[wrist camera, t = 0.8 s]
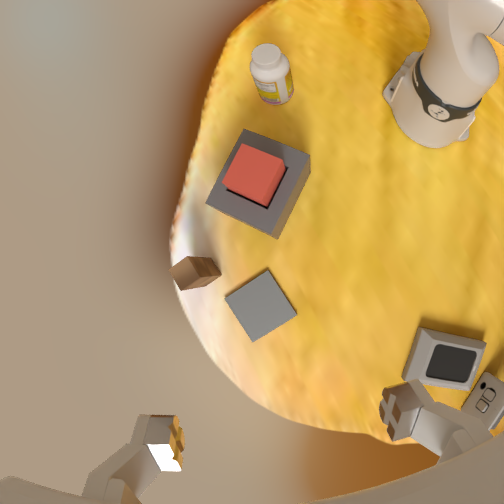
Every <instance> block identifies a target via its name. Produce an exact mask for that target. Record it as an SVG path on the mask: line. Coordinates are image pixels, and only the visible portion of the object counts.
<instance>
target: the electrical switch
mask: <svg viewBox="0 0 504 504" xmlns="http://www.w3.org/2000/svg"><path fill="white" fill-rule="evenodd" d="M461 411H462V412H464V413H466V414H469V415H471V416H474V417H476V418H479V419H481V421H482V422H483V423H484V425H485V426H486V427H487V429H488V430H489V431H490V429H495V427H496V426H497V424H498V423H499V422H500V420H501V418H502V417H503V415H504V382H502V381H501V380H499V379H498V378H496V377H494V376H493V375H492V374H490V373H489V372H484V373H483V374H482V376H481V378H480V379H479V381H478V383H477V384H476V386H475V388H474V389H473V391H472V393H471V394H470V396H469V397H468V399H467V400H466V402H465V403H464V405H463V407H462V408H461Z"/></svg>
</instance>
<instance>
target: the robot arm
mask: <svg viewBox="0 0 504 504" xmlns="http://www.w3.org/2000/svg"><path fill="white" fill-rule="evenodd" d="M416 1H417V2H418V4H419V5H420V6H421V8H422V10H423V11H424V13H425V15H426V17H427V20H428V23H429V27H430V35H429V39H428V43H427V46H426V49H423V50H422V52H412V53H411V54H410V55H409V56H407V58H406V59H405V61H404V64H403V65H402V66H401V68H400V69H399V70H398V72H397V73H396V74H395V76H394V77H393V78H392V80H391V81H390V83H389V84H388V85H387V87H386V88H385V89H384V91H383V97H384V98H385V100H386V101H387V102H388V103H389V105H390V106H391V108H392V111H393V114H394V117H395V120H396V122H397V124H398V125H399V127H400V128H401V129H402V131H403V132H404V133H405V134H406V135H407V136H408V137H410V138H411V139H412V140H414V141H415V142H417V143H419V144H421V145H423V146H426V147H431V148H441V147H445V146H447V145H449V144H451V143H452V142H455V141H465V140H466V139H467V138H468V137H469V126H470V125H471V124H472V122H473V121H474V120H475V116H474V113H475V112H474V111H475V110H476V108H477V107H478V105H479V103H480V102H481V99H482V97H483V95H484V94H485V93H486V92H487V91H488V90H489V89H490V88H491V87H492V85H493V84H494V83H495V82H496V80H497V78H498V75H499V62H498V58H497V56H496V53H495V51H494V48H493V46H492V45H491V43H490V41H489V40H488V39H487V37H486V36H489V37H491V38H492V39H494V40H496V41H497V42H499V43H500V44H502V45H503V46H504V0H416ZM485 35H486V36H485ZM390 89H392V90H393V91H391V90H390ZM382 396H383V398H384V399H383V400H382V401H381V402H380V406H379V412H380V417H381V420H382V422H383V423H384V424H386V425H388V427H387V432H388V434H389V436H390V438H391V440H392V442H393V441H396V440H400V439H403V438H406V437H410V436H411V438H413V439H414V440H416V441H417V442H419V443H420V444H422V445H423V446H425V447H426V448H428V449H429V450H431V451H432V452H434V453H436V454H437V455H439V456H440V459H439V461H438V463H437V464H436V465H435V466H433V467H431V468H428V469H425V470H423V471H420V472H417V473H415V474H412V475H409V476H406V477H403V478H401V479H398V480H395V481H392V482H389V483H386V484H382V485H379V486H376V487H372V488H369V489H365V490H361V491H357V492H353V493H350V494H345V495H341V496H336V497H331V498H327V499H322V500H317V501H311V502H305V503H299V504H504V431H503V432H502V433H500V434H498V435H496V436H495V437H493V436H492V434H491V433H490V432H489V430H488V429H487V427H486V426H485V425H484V423H483V422H482V421H481V419H479V418H476V417H474V416H471V415H469V414H466V413H464V412H462V411H459V410H457V409H454V408H452V407H450V406H447V405H445V404H443V403H440V402H434V400H433V399H432V397H431V396H430V394H429V393H428V392H427V390H426V389H425V387H424V386H423V385H422V383H421V382H420V381H419V379H414V380H410V381H407V382H403V383H400V384H396V385H392V386H389V387H385V388H384V389H383V392H382ZM184 447H185V438H184V433H183V430H182V428H181V427H179V420H178V417H177V416H176V415H142V414H140V415H139V416H138V418H137V421H136V425H135V428H134V431H133V435H132V438H131V442H130V444H126V445H125V446H123V447H122V448H121V449H119V450H118V451H117V452H116V453H114V454H113V455H112V456H111V457H110V458H108V459H107V460H106V461H105V462H103V463H102V464H101V465H99V466H98V467H97V468H96V469H94V470H93V471H92V472H91V473H89V475H88V478H87V481H86V484H85V487H84V490H83V493H82V496H78V495H73V494H69V493H65V492H62V491H58V490H54V489H51V488H47V487H44V486H41V485H37V484H35V483H32V482H29V481H26V480H23V479H20V478H18V477H14V476H8V477H6V478H3V479H1V480H0V504H142V503H141V502H140V501H139V500H138V498H139V497H140V496H141V494H142V493H143V492H144V491H145V490H146V489H147V487H148V486H149V485H150V484H151V483H152V482H153V481H154V480H155V478H156V477H157V476H158V475H159V474H160V473H161V471H181V470H182V463H183V457H182V455H181V452H182V451H183V450H184Z"/></svg>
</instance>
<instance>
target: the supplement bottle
mask: <svg viewBox="0 0 504 504" xmlns="http://www.w3.org/2000/svg"><path fill="white" fill-rule="evenodd" d="M250 71H251V74H252V76H253V79H254V82H255V84H256V87H257V90H258V92H259V95H260V97H261V98H262V100H264V101H265V102H266V103H268V104H272V105H279V104H283V103H285V102H287V101H288V100H289V99H290V98H291V97H292V95H293V91H294V89H293V82H292V76H291V71H290V65H289V61H288V59H287V57H286V56H285V55H284V54H282V53H281V51H280V49H279V48H278V47H277V46H276V45H274V44H270V43H266V44H261V45H259V46H257V47H256V48H255V49H254V50H253V51H252V61H251V63H250Z"/></svg>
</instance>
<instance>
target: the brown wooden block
mask: <svg viewBox="0 0 504 504" xmlns="http://www.w3.org/2000/svg"><path fill="white" fill-rule="evenodd" d="M169 271H170V273H171V275H172V277H173V278H174V280H175V282H176V283H177V285H178V287H179V289H180V290H181V291H182V290H188V289H193V288H198V287H204V286H206V285H208V284H209V283H211V282H212V281H214V280H215V279H217V278H218V277H220V276H221V273H220V272H219V270H218V268H217V267H216V265H215V264H214V262H213V260H212V259H211V258H204V257H190V256H187V257H186V258H184V259H183V260H181V261H180V262H179V263H177V264H176V265H174V266H173V267H172V268H170V269H169Z"/></svg>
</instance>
